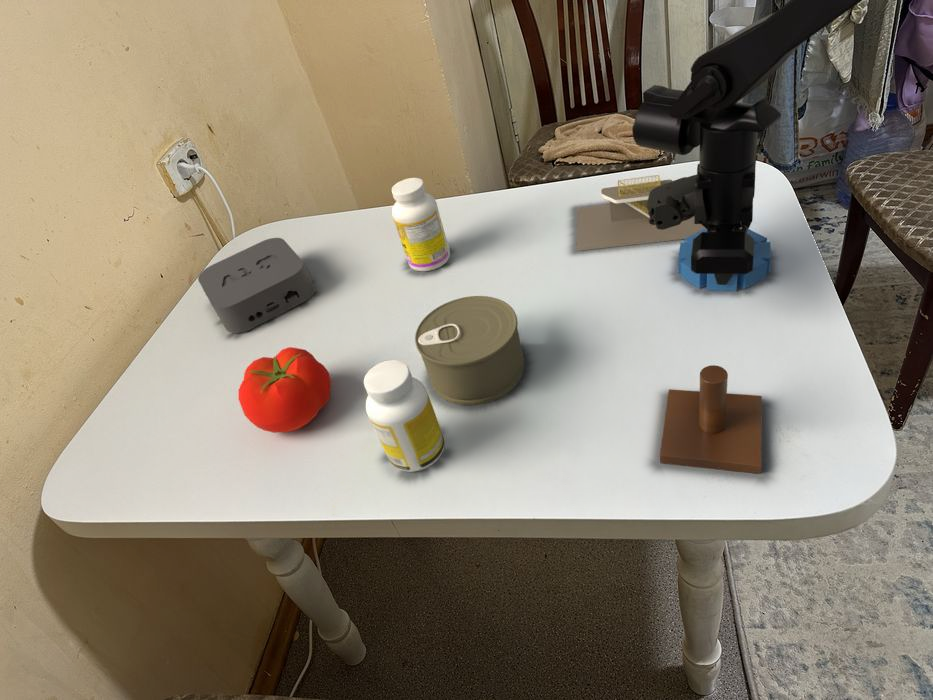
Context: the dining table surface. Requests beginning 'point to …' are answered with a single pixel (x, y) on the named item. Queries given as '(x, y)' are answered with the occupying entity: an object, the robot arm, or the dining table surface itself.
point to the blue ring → (742, 280)
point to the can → (471, 349)
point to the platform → (626, 219)
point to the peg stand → (713, 426)
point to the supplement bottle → (419, 225)
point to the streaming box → (256, 284)
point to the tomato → (284, 390)
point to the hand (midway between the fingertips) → (722, 277)
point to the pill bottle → (403, 416)
